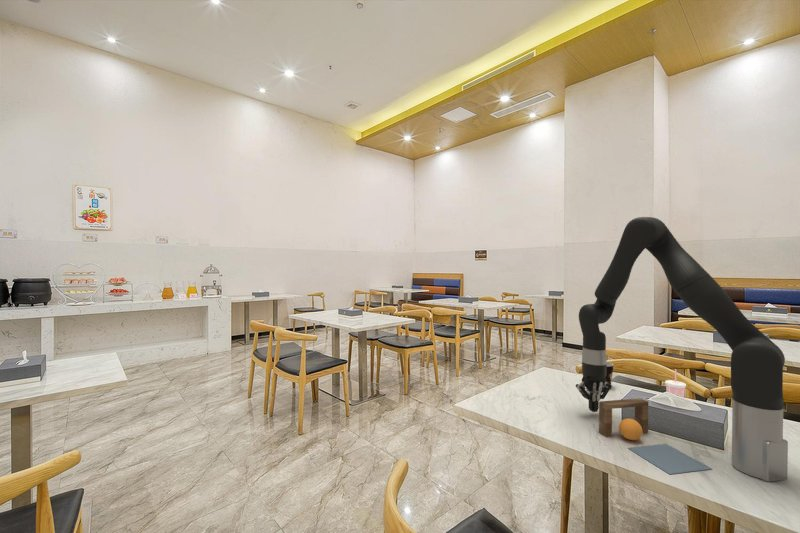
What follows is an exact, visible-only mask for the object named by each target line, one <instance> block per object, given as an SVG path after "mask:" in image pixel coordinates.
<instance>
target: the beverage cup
mask: <svg viewBox="0 0 800 533" xmlns="http://www.w3.org/2000/svg"><path fill="white" fill-rule="evenodd" d="M664 381H665V387H666V393H667V392H670V393H673V394H675V395H678V396H680V397H683V398H684V399H685V395H686V394H685V393H686V387H687V384H686V383H684V382H682V381H678V380H677V369H676V368H674V379H672V380H670V379H668V380H664Z"/></svg>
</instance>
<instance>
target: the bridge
mask: <svg viewBox="0 0 800 533" xmlns="http://www.w3.org/2000/svg"><path fill="white" fill-rule="evenodd" d="M625 408H634V420H635V421H637V422H638V423H639V424H640V425H641V427H642V431H643V433H642V434H649V401H648V400H645V399H644V398H643V399H642V398H640V397H639V398H630V399H629V398H628V399H627V398H626V399H625V398H624V399H615V400H602V401H601V400H600V401H599V409H598V433H599V434H600V435H602V436H604V437H605V438H608V437H609V438H611V437H612V436H613V435H612V434H613V409H625Z"/></svg>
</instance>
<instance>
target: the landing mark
mask: <svg viewBox="0 0 800 533" xmlns="http://www.w3.org/2000/svg"><path fill="white" fill-rule="evenodd" d="M627 449H628V450H629V451H631V452H633V453H634V454H635V455H637V456H639V457H641V458H642V459H643V460H645V461H647V462H648V463H650V464H652V465H653V466H655V467H656V468H659V470H661V471H663V472H665V473H666V474H668V475H669V476H671V475H678V474H685V473H686V474H687V473H693V472H701V471H710V470H713V468H712V467H711V466H709V465H706V464H704V463H703V462H701V461H699V460H697V459H696V458H693V457H692V456H689V455H688V454H686V453H684V452H683V451H681V450H679V449H677V448H675V447H673V446H672V445H669V444H668V443H660V444H659V443H658V444H651V445H650V444H649V445H640V446H632V447H627Z"/></svg>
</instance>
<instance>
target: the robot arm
mask: <svg viewBox="0 0 800 533" xmlns="http://www.w3.org/2000/svg"><path fill="white" fill-rule="evenodd" d="M645 249H646V250H647V251H648V252H649V253H650V254H651V255H652V256H653V257H654V258H655V259H656V260H657V261H658V263H659V265H660V266H661V268H662V269H663V272H664V275H665V276H666V279H667V281H668V283H669V285H670V287H671V289H672V290H673V291H674V292H675V293H676V295H677V296H678V297H679V298H680V299H681V300H682V302H683V303H684V304H685V305H686V306H687V308H689V309H690V310H691V311H692V312H693V313H694V314H696V315H697V316H698V317H699V318H700V319H702V320H703V321H704V322H706V323H707V324H708V325H710V326H711V327H712V328H713V329H714V330H715V331H716V332H718V334H719V335H720V336H721V337H722V338H723V340H724V341H725V342H726V343H727V345H728V346H729V348H730V349H731V350H732V352H731V355H730V388H731V391H732V392H731V393H732V395H731V396H732V404H731V406H732V408H731V409H732V411H731V412H732V414H731V465H732V467H733V468H735V469H736V470H738V471H739V472H741V473H744V474H746V475H748V476H751V477H754V478H758V479H760V480H763V481H765V482H768V483H769V482H770V483H772V482H779V481H785V480H788V469H789V466H788V463H789V462H788V460H789V459H788V458H789V457H788V454H789V452H788V451H789V450H788V449H789V442H788V440H787V439H784V435H783V434H784V395H783V394H784V393H783V392H784V391H783V384H784V382H783V381H784V379H783V378H784V376H783V375H784V366H785V362H786V357H785V354H784V353H783V351H782V350H781V348H780V347H779V346H778V345H777V344H776V343H775V342H773V341H772V340H771V339H770V338H768V337H767V335H765V334H764V333H763V332H762V331H761V330H759V329H758V327H756V326H755V325H754V324H753V323H752V322H751V321H750V320H749V319H748V318H747V317H746V315H744V314H743V312H742V311H741V310H740V308H739V306H738V305H736V303H735V302H734V300H732V298H731V297H730V296H729V294H728V293H727V292H726V291H725V290H724V289H723V288H722V287H721V284H719V283H718V282H717V281H716V280H715V279H714V278H713V276H711V274H710V273H709V272H707V271H706V270H705V269H704V268H703V266H701V264H700V263H698V261H697V260H695V258H693V257H692V256H691V255H690V254H689V253H688V252H687V251H686V250H685V249H684V248H683V246H681V244H680V243H679V241H678V240H677V239H676V237H675V236H674V234H673V233H672V232H671V230H670V229H669V228H668V227H667V226H666V223H664V222H663V221H662V220H661V219H659V218H656V217H651V216H639V217H635V218H632V219H631V220H630V221H629V222H628V223H627V224H626V225H625V227H624V230H623V232H622V235H621V238H620V240H619V243H618V246H617V248H616V251H615V253H614V255H613V257H612V259H611V260H612V261H610V264H609V266H608V268H607V269H606V272H605V273H604V274H603V276H602V278H601V280H600V282H599V283H598V285H597V286H596V289H595V291H594V297H595V298H596V299H595V300H596V301H594V302H593V303H588V304H584V305H582V306H581V308H580V309H579V311H578V321H579V325H580V329H581V333H582V351H581V374H582V378H581V382H580V383H579V384H578V383H577V384H575V388H576V389H577V390H578V391H579V393H580V394H581V396H582V397H583V398H584V399H586V400H588V410H589V411H590V412H593V413H597V412H599V401H601V400H604V399H605V398H606V396H607V394H608V393H609V392H610V390H611V388H613V386H612V383H611V384H609V383H607V382H606V378H605V377H606V367H607V362H608V361H607V360H608V359H607V357H608V356H607V350H606V348H607V343H606V342H607V339H606V334H605V333H604V332H603V331H601V330H600V326H599V325H600V324H605V323H606V322H608V321H609V319H610V318H612V315H613V314H614V313H613V312H614V311H615V310H614V309H615V308H616V304H617V300H618V299H619V298H620V296H621V294H622V293H623V291H624V289H625V288H626V286H627V284H628V282H629V279H630V275H631V273H632V270H633V267H634V264H635V262H637V259H638V258H639V257H640V256H641V254H642V253H643V251H645Z"/></svg>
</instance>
